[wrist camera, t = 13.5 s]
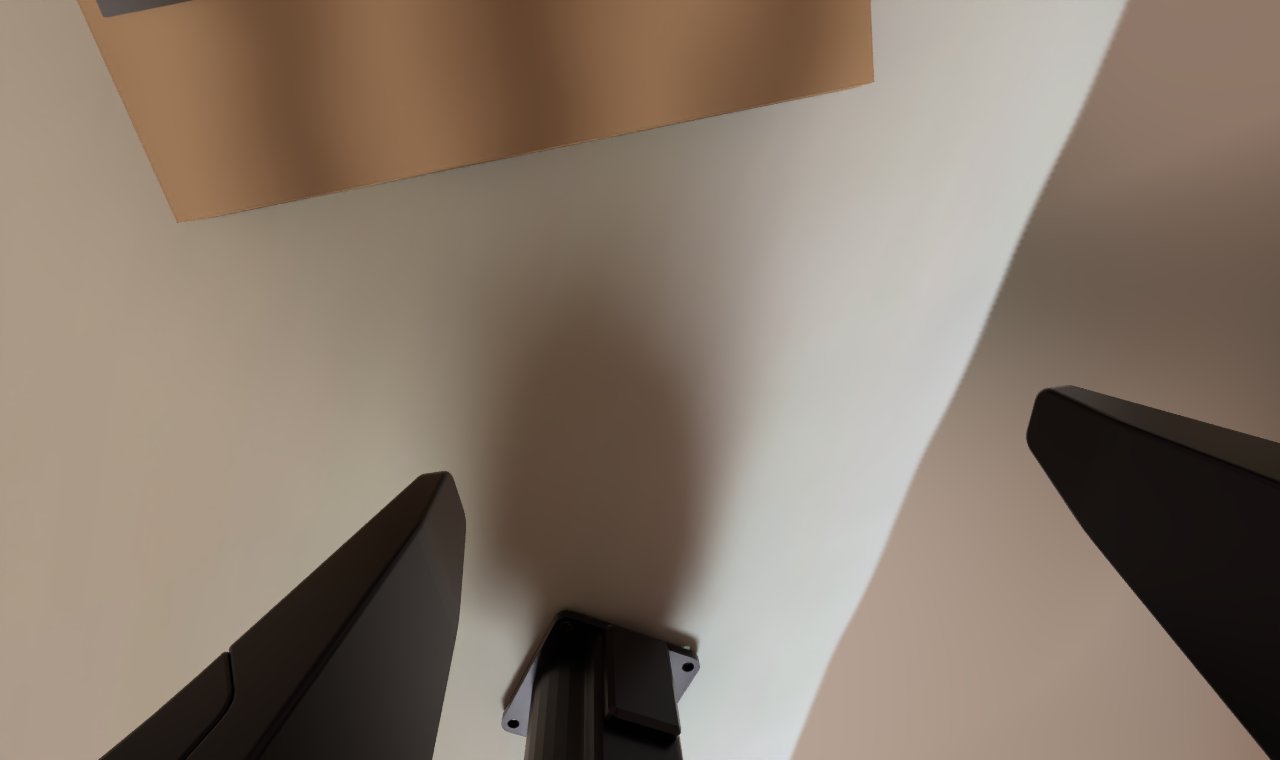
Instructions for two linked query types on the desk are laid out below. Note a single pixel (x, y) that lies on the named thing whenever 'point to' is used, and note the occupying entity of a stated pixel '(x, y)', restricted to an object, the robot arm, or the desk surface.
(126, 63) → the tan flat block
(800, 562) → the desk surface
